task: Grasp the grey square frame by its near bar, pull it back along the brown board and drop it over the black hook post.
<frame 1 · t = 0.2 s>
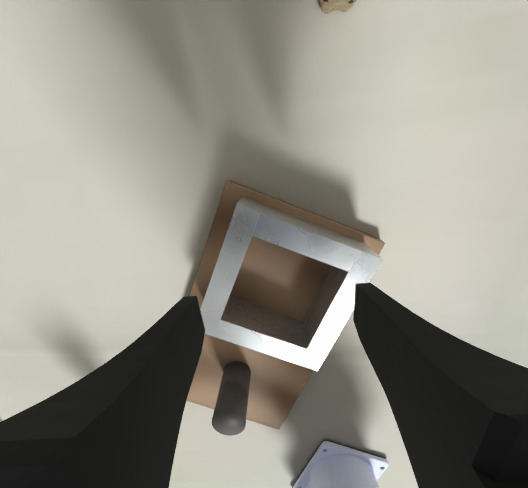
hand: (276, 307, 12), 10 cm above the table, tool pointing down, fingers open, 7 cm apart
brown board: (257, 320, 24), on the table
grey square frame: (280, 274, 21), point 1 cm above the table, touching brown board
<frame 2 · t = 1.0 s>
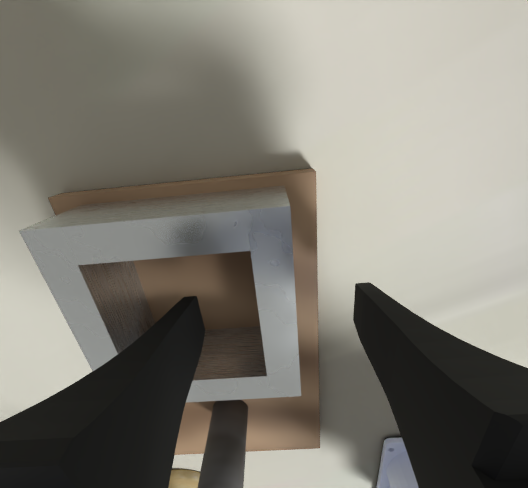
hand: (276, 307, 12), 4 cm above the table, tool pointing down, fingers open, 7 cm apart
brown board: (220, 342, 18), on the table
grey square frame: (201, 282, 14), point 1 cm above the table, touching brown board
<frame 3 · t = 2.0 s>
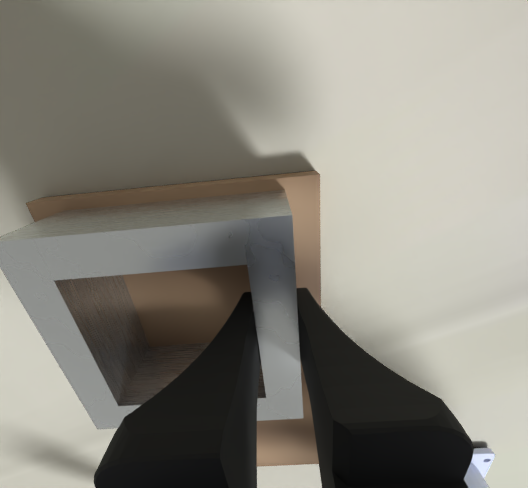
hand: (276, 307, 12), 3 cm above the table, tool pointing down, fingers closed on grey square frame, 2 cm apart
brown board: (216, 355, 17), on the table
grey square frame: (195, 294, 13), point 1 cm above the table, touching gripper, brown board
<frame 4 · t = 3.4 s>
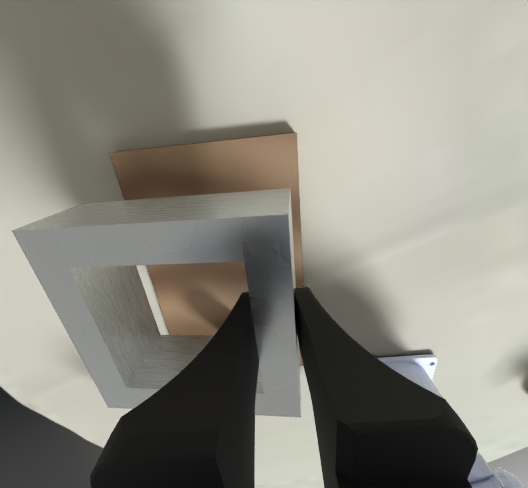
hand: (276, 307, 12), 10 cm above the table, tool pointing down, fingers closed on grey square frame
brown board: (228, 273, 23), on the table
grey square frame: (202, 287, 14), point 8 cm above the table, tilted 6°, touching gripper
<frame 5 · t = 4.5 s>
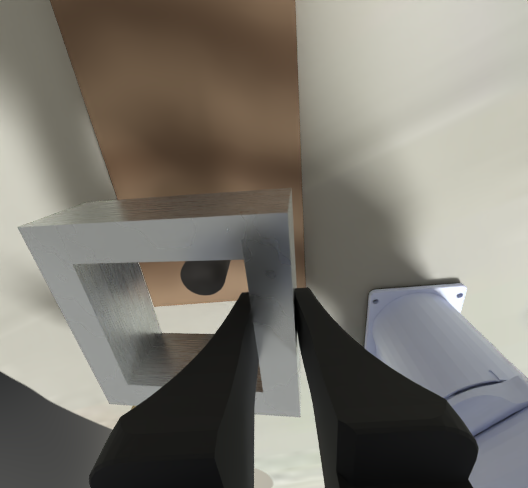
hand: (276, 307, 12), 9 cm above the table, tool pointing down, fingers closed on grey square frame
brown board: (206, 165, 18), on the table
grey square frame: (203, 286, 14), point 7 cm above the table, tilted 7°, touching gripper
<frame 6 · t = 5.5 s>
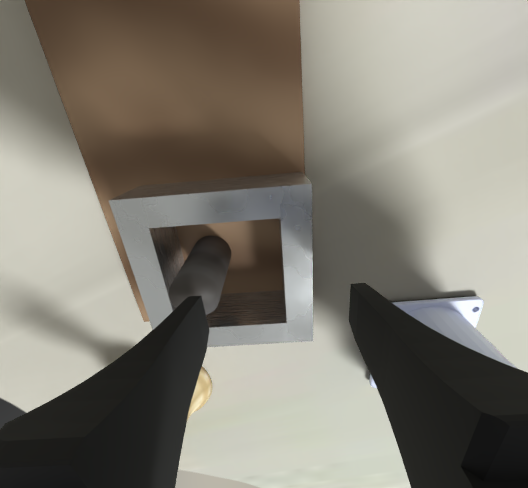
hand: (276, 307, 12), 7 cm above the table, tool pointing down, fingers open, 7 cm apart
hand bell: (170, 381, 25), on the table
brown board: (200, 168, 16), on the table
grey square frame: (231, 252, 18), point 1 cm above the table, touching brown board
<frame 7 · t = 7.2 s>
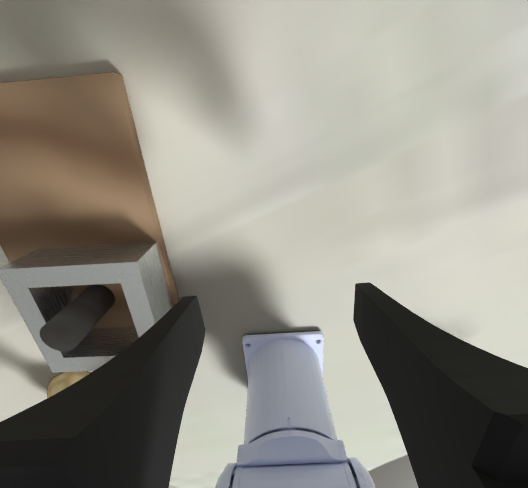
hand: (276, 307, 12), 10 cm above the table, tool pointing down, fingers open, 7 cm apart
hand bell: (88, 394, 30), on the table
brown board: (85, 235, 22), on the table
grey square frame: (114, 296, 23), point 1 cm above the table, touching brown board
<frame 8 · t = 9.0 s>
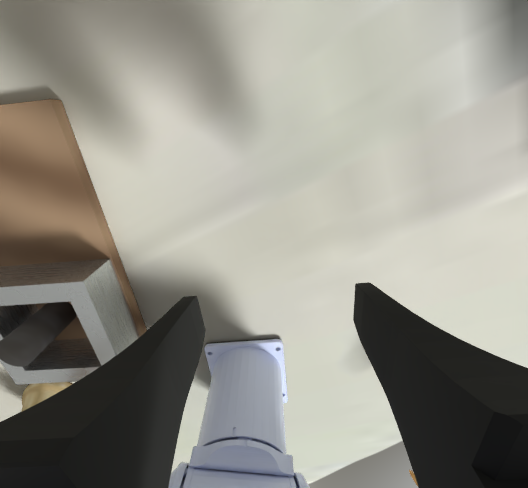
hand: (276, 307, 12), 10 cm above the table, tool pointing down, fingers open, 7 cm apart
hand bell: (62, 400, 31), on the table
brown board: (43, 252, 22), on the table
grey square frame: (75, 310, 24), point 1 cm above the table, touching brown board
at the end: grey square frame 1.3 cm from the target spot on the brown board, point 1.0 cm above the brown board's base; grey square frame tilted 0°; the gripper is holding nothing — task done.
